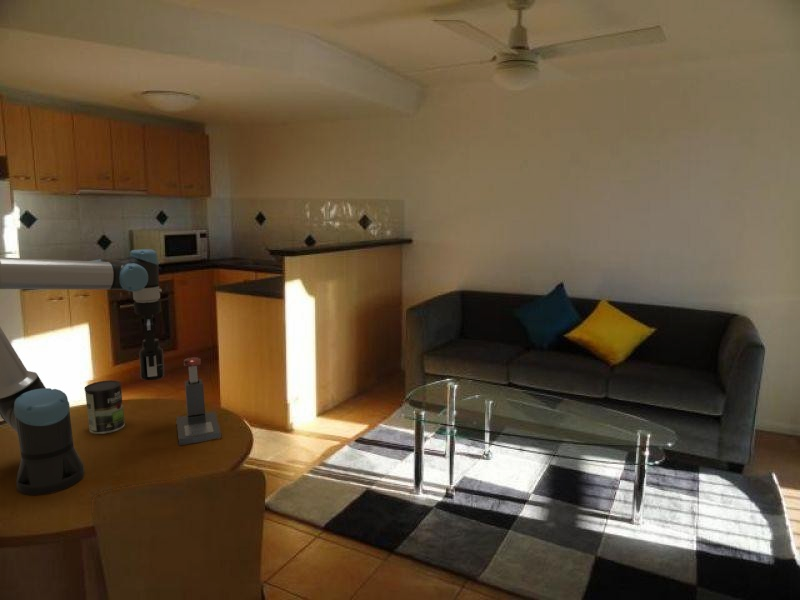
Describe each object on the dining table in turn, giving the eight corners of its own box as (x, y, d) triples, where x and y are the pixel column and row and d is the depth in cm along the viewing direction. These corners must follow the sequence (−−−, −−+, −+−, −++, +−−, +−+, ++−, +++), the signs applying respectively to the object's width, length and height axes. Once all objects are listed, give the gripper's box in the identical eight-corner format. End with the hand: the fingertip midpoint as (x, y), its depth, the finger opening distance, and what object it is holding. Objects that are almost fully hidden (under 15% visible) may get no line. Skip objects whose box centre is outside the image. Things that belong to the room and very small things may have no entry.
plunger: (203, 398, 183) (201, 360, 180) (187, 400, 181) (184, 362, 179) (202, 393, 187) (199, 356, 185) (186, 395, 185) (183, 358, 183)
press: (221, 438, 175) (218, 395, 172) (179, 445, 170) (175, 400, 167) (215, 417, 191) (212, 377, 188) (176, 423, 186) (173, 381, 184)
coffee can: (132, 422, 187) (128, 381, 184) (110, 435, 177) (106, 392, 174) (104, 419, 189) (100, 379, 186) (81, 432, 179) (76, 389, 176)
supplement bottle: (159, 381, 176) (156, 343, 174) (136, 380, 176) (134, 342, 174) (168, 374, 183) (165, 337, 181) (147, 373, 183) (144, 337, 181)
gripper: (160, 305, 168) (166, 380, 172) (160, 294, 186) (164, 362, 190) (132, 306, 165) (138, 383, 169) (134, 295, 183) (139, 365, 187)
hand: (152, 372), depth 179 cm, fingers closed on supplement bottle, 7 cm apart
